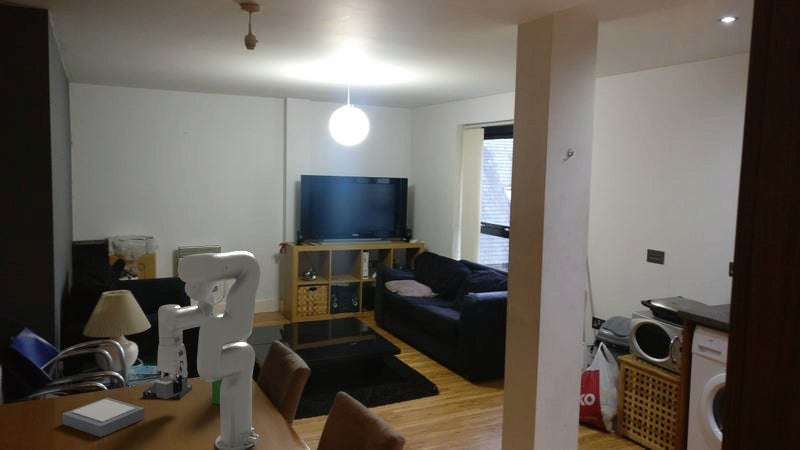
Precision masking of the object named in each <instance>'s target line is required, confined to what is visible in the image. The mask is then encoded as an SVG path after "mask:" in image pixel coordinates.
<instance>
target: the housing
mask: <svg viewBox="0 0 800 450" xmlns="http://www.w3.org/2000/svg"><path fill="white" fill-rule="evenodd" d="M178 377H179V374H178V375H177V378H178ZM174 382H175V381H174V376H173V374H170V375H168V376H165V377H163V378H161V377H160V378H158V379H156V380H155V383H156V393H157V397H159V398H158V399H162V400H163V399H164V400H169V398H171V397H174V396H176V395H178V394H181V393H183V392H186V391H188V384H189V383H188V374H187V375H186V376H185V378H184V379H183V381H182V392H179V393H177V394H174Z"/></svg>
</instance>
